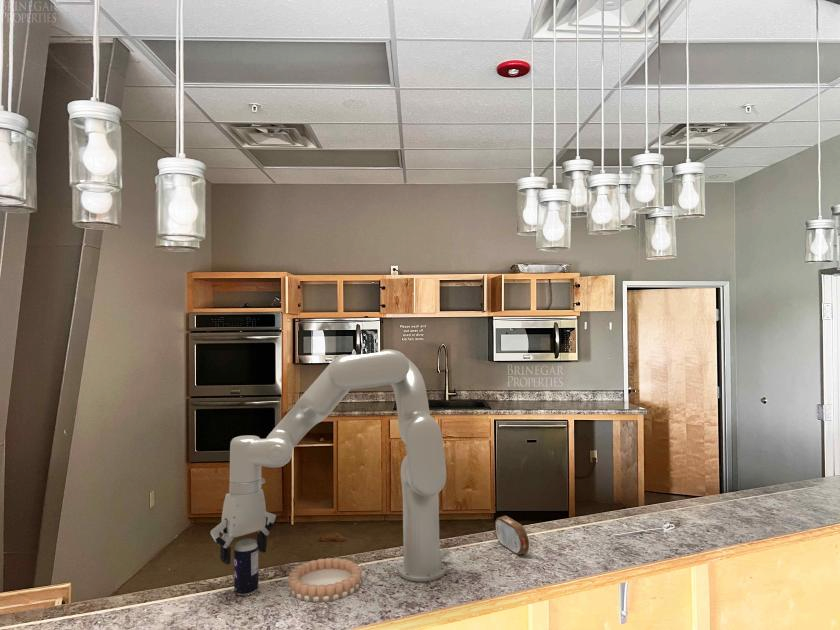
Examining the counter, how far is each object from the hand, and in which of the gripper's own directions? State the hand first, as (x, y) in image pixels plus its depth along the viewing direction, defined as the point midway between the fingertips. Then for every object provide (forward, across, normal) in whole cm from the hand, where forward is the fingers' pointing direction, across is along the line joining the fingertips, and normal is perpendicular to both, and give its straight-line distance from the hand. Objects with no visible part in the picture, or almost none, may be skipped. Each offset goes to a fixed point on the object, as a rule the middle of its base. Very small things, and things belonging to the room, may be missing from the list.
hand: (244, 556), depth 133 cm
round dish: (+8, -16, +12) cm, 22 cm away
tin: (+7, -65, +36) cm, 74 cm away
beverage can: (+9, -1, 0) cm, 9 cm away
